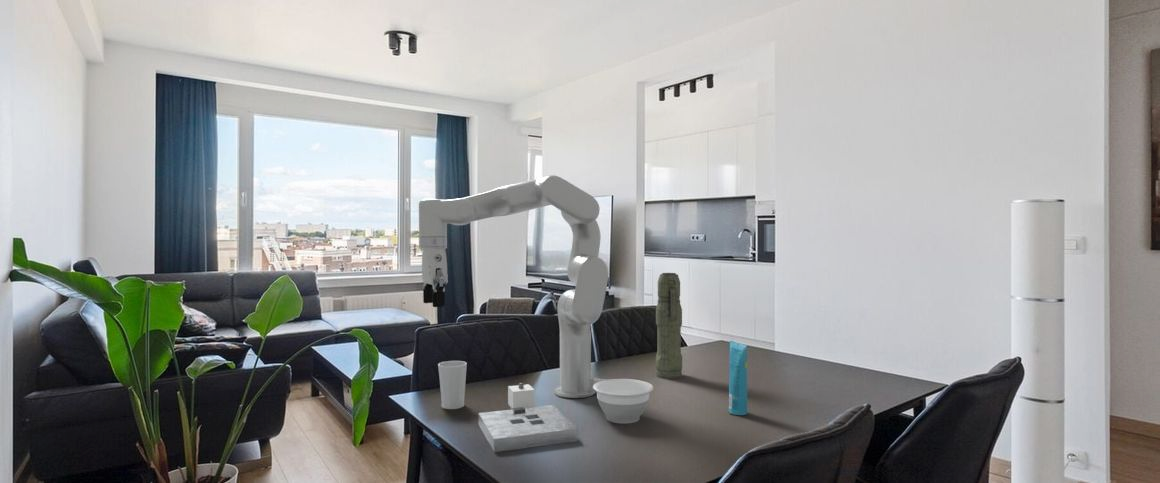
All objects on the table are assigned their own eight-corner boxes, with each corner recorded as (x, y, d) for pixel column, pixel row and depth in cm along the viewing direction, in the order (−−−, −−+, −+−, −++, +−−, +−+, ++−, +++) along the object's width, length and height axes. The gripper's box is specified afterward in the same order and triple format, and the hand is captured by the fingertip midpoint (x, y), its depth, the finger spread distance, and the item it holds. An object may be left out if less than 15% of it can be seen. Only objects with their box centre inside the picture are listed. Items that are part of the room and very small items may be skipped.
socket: (553, 416, 159) (552, 402, 158) (577, 441, 140) (577, 425, 140) (478, 424, 152) (478, 410, 152) (494, 452, 133) (493, 435, 133)
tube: (754, 415, 158) (754, 344, 158) (740, 418, 156) (740, 345, 156) (735, 408, 165) (735, 339, 164) (721, 410, 163) (721, 341, 162)
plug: (529, 407, 167) (528, 380, 166) (534, 413, 161) (534, 385, 161) (508, 409, 165) (507, 381, 164) (513, 415, 159) (512, 387, 159)
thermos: (663, 380, 195) (663, 274, 194) (650, 372, 206) (650, 272, 206) (688, 379, 197) (688, 274, 196) (674, 370, 209) (673, 271, 208)
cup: (460, 410, 164) (460, 367, 163) (433, 409, 165) (433, 366, 165) (471, 402, 171) (471, 361, 171) (445, 401, 173) (445, 360, 173)
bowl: (583, 413, 161) (583, 382, 161) (635, 406, 167) (635, 376, 167) (609, 431, 146) (609, 397, 146) (664, 423, 153) (664, 390, 152)
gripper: (455, 243, 159) (456, 307, 159) (437, 242, 174) (438, 300, 174) (427, 244, 155) (428, 309, 155) (412, 243, 170) (412, 302, 170)
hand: (433, 304), depth 165 cm, fingers open, 9 cm apart
